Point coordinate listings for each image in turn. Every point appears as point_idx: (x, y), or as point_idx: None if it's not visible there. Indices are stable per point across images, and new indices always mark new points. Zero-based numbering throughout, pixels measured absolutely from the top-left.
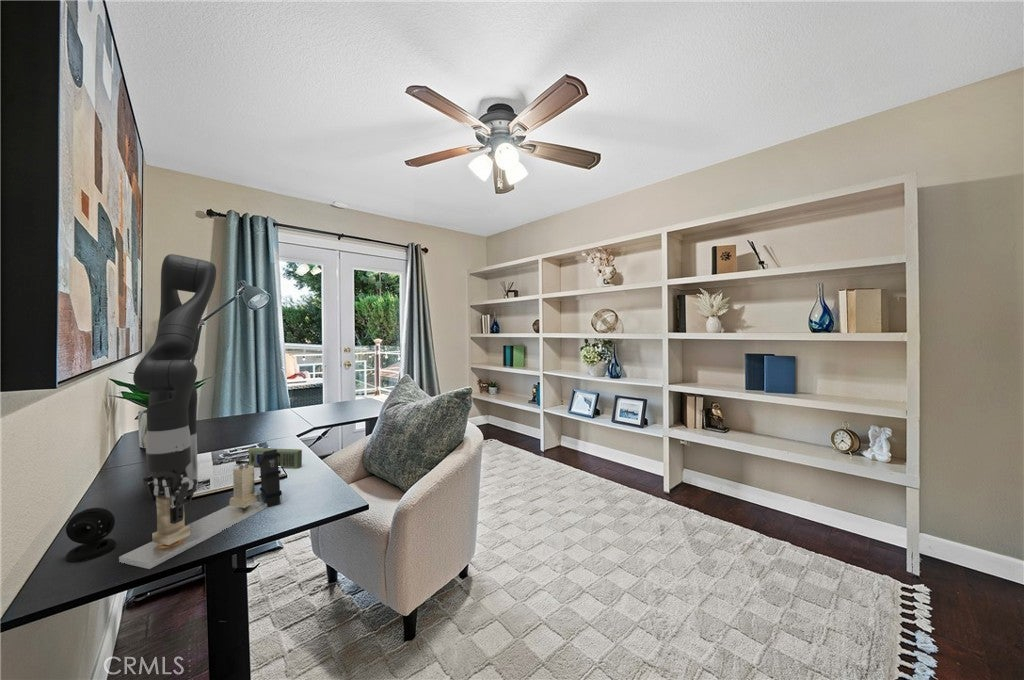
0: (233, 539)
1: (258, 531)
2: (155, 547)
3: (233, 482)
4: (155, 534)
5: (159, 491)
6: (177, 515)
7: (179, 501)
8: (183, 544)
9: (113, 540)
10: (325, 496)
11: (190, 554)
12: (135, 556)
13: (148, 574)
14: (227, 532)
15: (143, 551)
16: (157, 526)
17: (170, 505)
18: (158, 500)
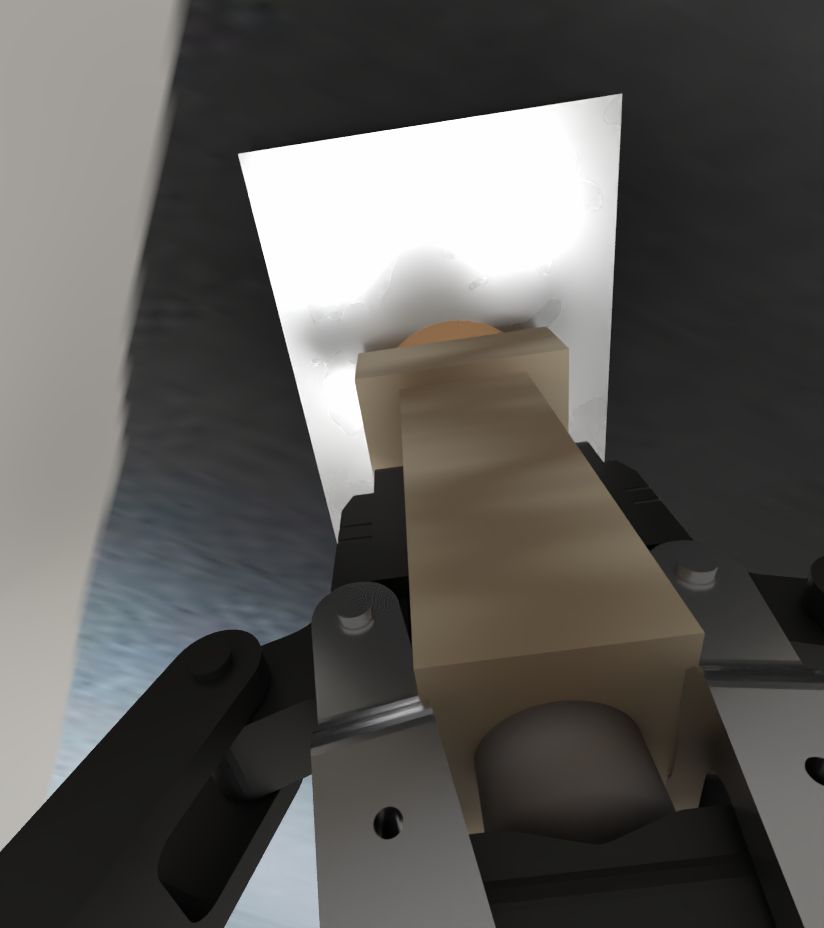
0: (186, 578)
1: (161, 664)
2: (482, 313)
3: None
4: (523, 353)
5: (737, 808)
6: (339, 544)
7: (154, 718)
8: (329, 419)
9: None
10: (252, 898)
11: (219, 391)
12: (486, 165)
13: (166, 108)
14: (312, 602)
15: (509, 239)
16: (538, 396)
17: (388, 609)
18: (629, 610)
